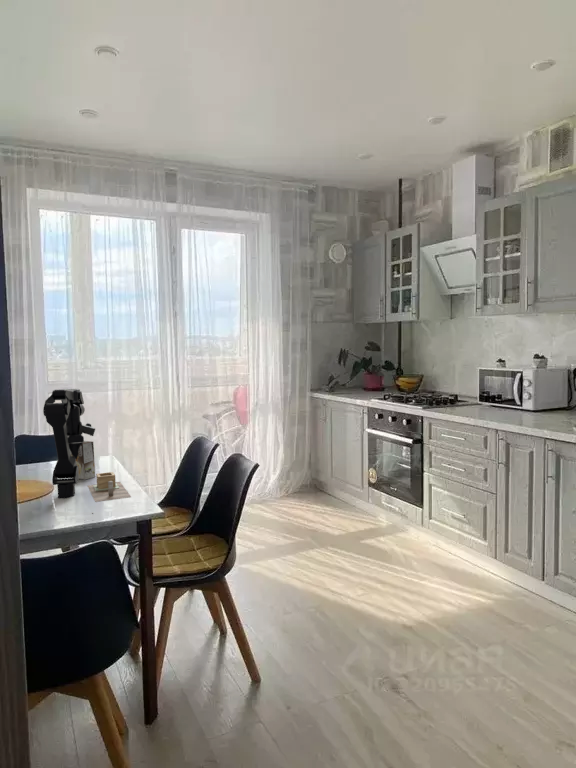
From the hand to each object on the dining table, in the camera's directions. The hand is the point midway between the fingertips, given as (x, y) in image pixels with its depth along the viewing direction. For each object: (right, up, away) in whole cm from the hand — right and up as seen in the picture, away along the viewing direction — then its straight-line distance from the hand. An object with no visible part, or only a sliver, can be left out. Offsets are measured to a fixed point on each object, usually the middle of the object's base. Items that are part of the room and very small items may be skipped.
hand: (74, 457), depth 235 cm
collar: (+14, -11, -4) cm, 19 cm away
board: (+17, -13, -10) cm, 24 cm away
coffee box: (-4, -12, +20) cm, 24 cm away
